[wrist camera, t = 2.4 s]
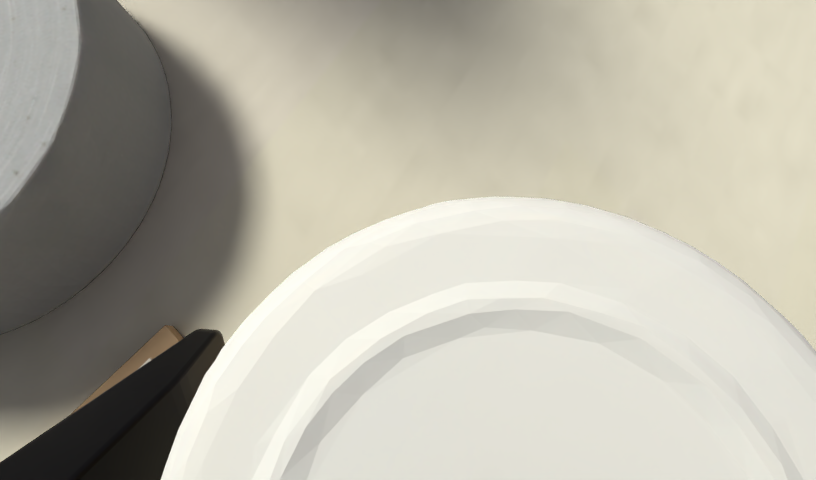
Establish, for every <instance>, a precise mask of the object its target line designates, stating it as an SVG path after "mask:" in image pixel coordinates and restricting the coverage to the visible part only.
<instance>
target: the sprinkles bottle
mask: <svg viewBox="0 0 816 480" xmlns="http://www.w3.org/2000/svg"><path fill="white" fill-rule="evenodd" d="M161 480H816V351H815V350H814V349H813V348H812V346H811V345H810V344H809V342H808V341H807V340H806V339H805V337H804V336H803V335H802V334H801V333H800V332H799V331H798V330H797V329H796V328H795V327H794V326H793V325H792V324H791V323H790V322H789V321H788V320H787V319H786V318H785V317H784V316H783V315H782V314H780V313H779V312H778V311H777V310H776V309H775V308H774V307H773V306H771V305H770V304H769V303H768V302H767V301H766V300H765V299H764V298H762V297H761V296H760V295H759V294H758V293H757V292H756V291H755V290H753V289H752V288H751V287H750V286H749V285H748V284H747V283H746V282H744V281H743V280H742V279H740V278H739V277H737V276H736V275H735V274H733V273H732V272H731V271H729V270H728V269H726V268H725V267H724V266H722V265H721V264H720V263H718V262H717V261H715V260H713V259H712V258H710V257H709V256H707V255H705V254H704V253H702V252H700V251H699V250H697V249H695V248H694V247H692V246H690V245H689V244H687V243H685V242H682V241H680V240H678V239H676V238H674V237H672V236H670V235H668V234H666V233H664V232H662V231H660V230H657V229H655V228H652V227H650V226H647V225H645V224H643V223H640V222H638V221H635V220H633V219H630V218H628V217H625V216H622V215H618V214H615V213H611V212H608V211H605V210H601V209H598V208H594V207H591V206H587V205H582V204H576V203H570V202H565V201H559V200H553V199H547V198H526V197H483V198H472V199H460V200H449V201H445V202H440V203H436V204H432V205H429V206H425V207H422V208H419V209H415V210H412V211H409V212H406V213H403V214H401V215H398V216H395V217H392V218H389V219H386V220H383V221H381V222H379V223H376V224H374V225H372V226H369V227H367V228H365V229H362V230H360V231H358V232H355V233H353V234H351V235H350V236H348V237H346V238H344V239H342V240H340V241H339V242H337V243H335V244H333V245H331V246H330V247H328V248H326V249H325V250H324V251H322V252H321V253H319V254H318V255H317V256H315V257H314V258H312V259H311V260H310V261H308V262H307V263H306V264H304V265H303V266H301V267H300V268H299V269H297V270H296V271H294V272H293V273H292V274H290V275H289V276H288V277H287V278H286V279H285V280H284V281H283V282H282V283H281V284H280V285H279V286H278V287H277V288H276V289H275V290H274V291H273V292H271V293H270V294H269V295H268V296H267V298H266V299H265V300H264V301H263V302H262V303H261V304H260V305H259V306H258V307H257V308H256V309H255V310H254V311H253V312H252V313H251V314H250V315H249V316H248V317H247V318H246V319H245V320H244V321H243V323H242V324H241V325H240V326H239V328H238V329H237V330H236V331H235V333H234V334H233V335H232V337H231V338H230V339H229V340H228V342H227V343H226V344H225V345H224V347H223V348H222V349H221V351H220V353H219V355H218V356H217V358H216V360H215V361H214V363H213V364H212V365H211V367H210V368H209V370H208V371H207V372H206V374H205V375H204V378H203V380H202V382H201V384H200V386H199V388H198V390H197V392H196V394H195V396H194V398H193V400H192V402H191V404H190V407H189V409H188V411H187V413H186V415H185V417H184V419H183V421H182V423H181V425H180V427H179V429H178V432H177V435H176V437H175V440H174V443H173V446H172V448H171V451H170V454H169V457H168V460H167V462H166V465H165V468H164V471H163V474H162V477H161Z"/></svg>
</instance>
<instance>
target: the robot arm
mask: <svg viewBox="0 0 816 480" xmlns="http://www.w3.org/2000/svg"><path fill="white" fill-rule="evenodd" d="M224 345H225V344H224V340H223V336H222V334H221V332H220V331H217V330H209V329H198V330H195V331H194V332H192V333H191V334H189V335H188V336H186V337H185V338H183V339H182V340H180V341H179V342H177V343H176V344H174V345H173V346H171V347H170V348H168V349H167V350H166V351H164V352H163V353H161V354H160V355H158V356H157V357H155V358H154V359H152V360H151V361H149V362H148V363H146V364H145V365H143V366H142V367H140V368H139V369H138V370H136V371H135V372H133V373H132V374H130V375H129V376H127V377H126V378H124V379H123V380H121V381H120V382H118V383H117V384H115V385H114V386H112V387H111V388H109V389H108V390H107V391H105V392H104V393H102V394H101V395H99V396H98V397H96V398H95V399H93V400H92V401H90V402H89V403H87V404H86V405H84V406H83V407H81V408H80V409H79V410H77V411H76V412H74V413H73V414H71V415H70V416H68V417H67V418H65V419H64V420H62V421H61V422H59V423H58V424H56V425H55V426H53V427H52V428H50V429H49V430H48V431H46V432H45V433H43V434H42V435H40V436H39V437H37V438H36V439H34V440H33V441H31V442H30V443H28V444H27V445H25V446H24V447H22V448H21V449H20V450H18V451H17V452H15V453H14V454H12V455H11V456H9V457H8V458H6V459H5V460H3V461H2V462H0V480H161V477H162V474H163V471H164V468H165V465H166V462H167V460H168V457H169V454H170V451H171V448H172V446H173V443H174V440H175V437H176V435H177V432H178V429H179V427H180V425H181V423H182V421H183V419H184V417H185V415H186V413H187V411H188V409H189V407H190V404H191V402H192V400H193V398H194V396H195V394H196V392H197V390H198V388H199V386H200V384H201V382H202V380H203V378H204V375H205V374H206V372H207V371H208V370H209V368H210V367H211V365H212V364H213V363H214V361H215V360H216V358H217V356H218V355H219V353H220V351H221V349H222V348H223V347H224Z"/></svg>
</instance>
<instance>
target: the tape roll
mask: <svg viewBox="0 0 816 480" xmlns="http://www.w3.org/2000/svg"><path fill="white" fill-rule="evenodd" d="M170 135H171V106H170V96H169V89H168V84H167V80H166V76H165V73H164V70H163V67H162V64H161V61H160V59H159V57H158V55H157V52H156V50H155V49H154V47H153V45H152V43H151V41H150V40H149V38H148V37H147V35H146V34H145V32H144V31H143V30H142V28H141V27H140V26H139V25H138V24H137V23H136V21H135V20H134V19H133V18H132V17H131V16H130V15H129V14H128V12H127V11H126V10H125V9H124V8H123V7H122V6H121V5H120V4H119V2H118V1H117V0H0V335H1V334H3V333H6V332H9V331H12V330H14V329H17V328H19V327H21V326H24V325H26V324H28V323H30V322H33V321H35V320H36V319H38V318H40V317H42V316H44V315H45V314H47V313H49V312H51V311H52V310H54V309H55V308H57V307H58V306H60V305H61V304H63V303H64V302H66V301H67V300H69V299H70V298H72V297H73V296H74V295H76V294H77V293H78V292H80V291H81V290H82V289H83V288H85V287H86V286H87V285H88V284H89V283H90V282H91V281H92V280H93V279H95V278H96V277H97V276H98V275H99V274H100V273H101V272H102V271H103V270H104V269H105V268H106V267H107V266H108V265H109V264H110V263H111V262H112V260H113V259H114V258H115V257H116V256H117V255H118V254H119V253H120V251H121V250H122V249H123V248H124V246H125V245H126V244H127V242H128V241H129V240H130V238H131V237H132V235H133V234H134V232H135V231H136V229H137V228H138V226H139V225H140V223H141V222H142V220H143V218H144V216H145V214H146V213H147V211H148V209H149V207H150V205H151V203H152V200H153V198H154V196H155V194H156V192H157V190H158V187H159V184H160V181H161V178H162V175H163V171H164V168H165V164H166V160H167V156H168V151H169V145H170Z"/></svg>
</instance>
